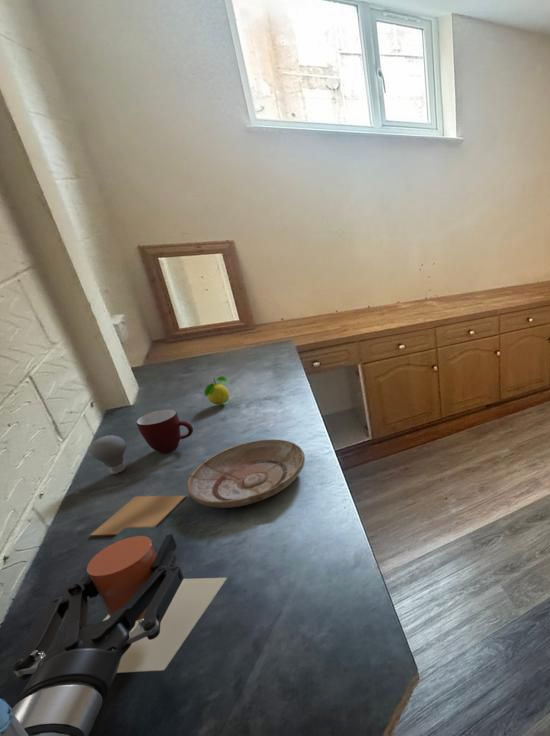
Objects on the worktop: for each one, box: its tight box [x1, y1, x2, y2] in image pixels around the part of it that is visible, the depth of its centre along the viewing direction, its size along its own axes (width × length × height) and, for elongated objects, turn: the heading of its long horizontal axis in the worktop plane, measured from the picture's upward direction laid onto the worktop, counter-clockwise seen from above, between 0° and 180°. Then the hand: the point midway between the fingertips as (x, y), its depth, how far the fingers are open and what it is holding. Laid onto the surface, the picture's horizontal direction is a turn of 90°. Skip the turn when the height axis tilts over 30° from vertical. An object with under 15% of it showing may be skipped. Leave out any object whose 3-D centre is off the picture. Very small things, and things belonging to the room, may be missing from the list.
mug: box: [136, 408, 194, 454], centre depth 106 cm, size 10×8×10 cm
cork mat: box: [89, 495, 187, 538], centre depth 85 cm, size 11×11×1 cm
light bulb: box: [90, 435, 127, 475], centre depth 96 cm, size 6×6×10 cm
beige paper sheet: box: [102, 577, 228, 674], centre depth 64 cm, size 15×15×1 cm
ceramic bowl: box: [186, 438, 306, 509], centre depth 94 cm, size 23×24×5 cm
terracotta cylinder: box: [86, 535, 158, 621], centre depth 60 cm, size 7×7×10 cm
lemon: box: [204, 376, 230, 406], centre depth 128 cm, size 7×6×10 cm
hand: (141, 548), depth 64 cm, fingers closed on terracotta cylinder, 7 cm apart
